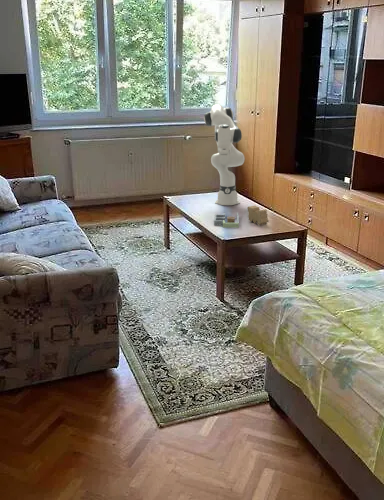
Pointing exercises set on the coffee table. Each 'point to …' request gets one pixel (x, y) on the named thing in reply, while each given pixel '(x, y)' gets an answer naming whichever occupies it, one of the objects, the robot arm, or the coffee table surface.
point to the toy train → (257, 215)
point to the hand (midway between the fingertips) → (224, 169)
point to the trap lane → (220, 220)
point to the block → (230, 219)
